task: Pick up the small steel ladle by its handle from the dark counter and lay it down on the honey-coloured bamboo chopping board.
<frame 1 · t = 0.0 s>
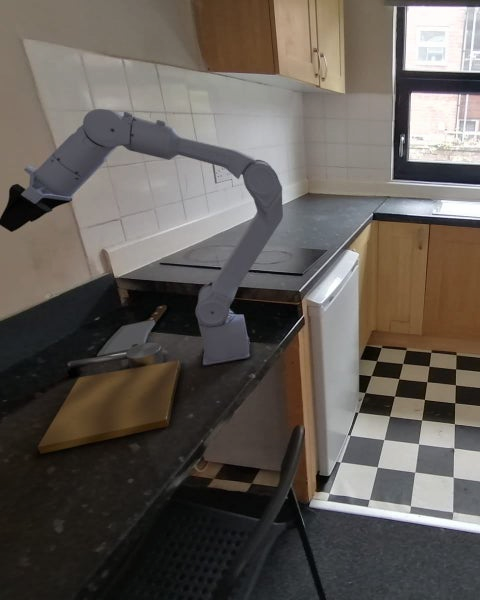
hand: (16, 222, 69), 32 cm above the counter, tool tilted 50°, fingers open, 7 cm apart
chopping board: (121, 403, 75), on the counter
kitchen cleaver: (139, 330, 101), on the counter
ladle: (147, 362, 88), on the counter
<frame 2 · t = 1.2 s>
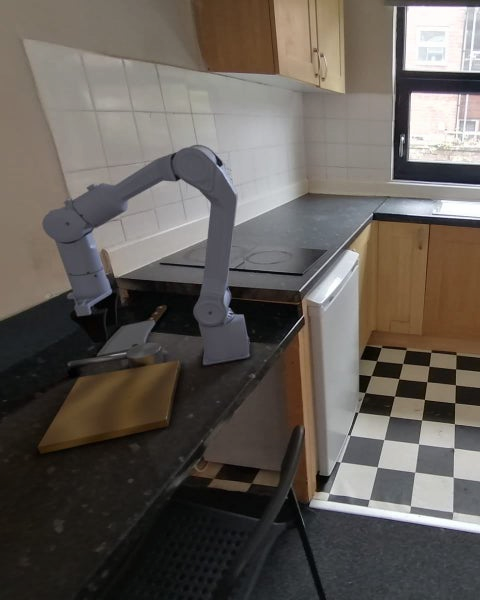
hand: (106, 333, 82), 8 cm above the counter, tool pointing down, fingers open, 7 cm apart
nothing on the counter moved.
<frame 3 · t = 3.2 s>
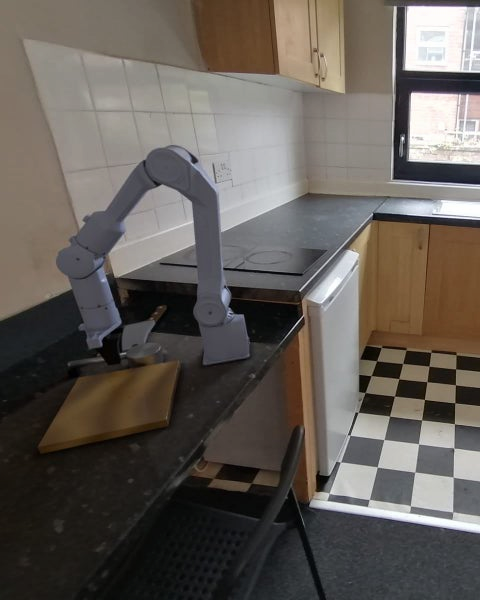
hand: (115, 361, 85), 2 cm above the counter, tool pointing down, fingers closed on ladle
ladle: (147, 362, 88), on the counter, touching gripper
everything else where it was.
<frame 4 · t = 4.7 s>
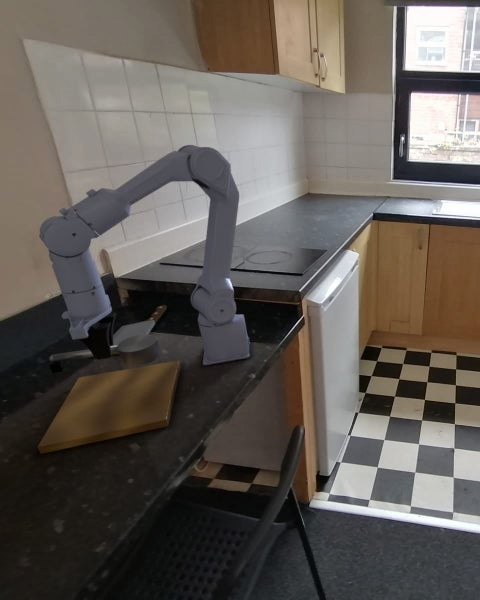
hand: (105, 355, 75), 8 cm above the counter, tool pointing down, fingers closed on ladle
ladle: (141, 357, 77), point 7 cm above the counter, touching gripper
everything else where it was.
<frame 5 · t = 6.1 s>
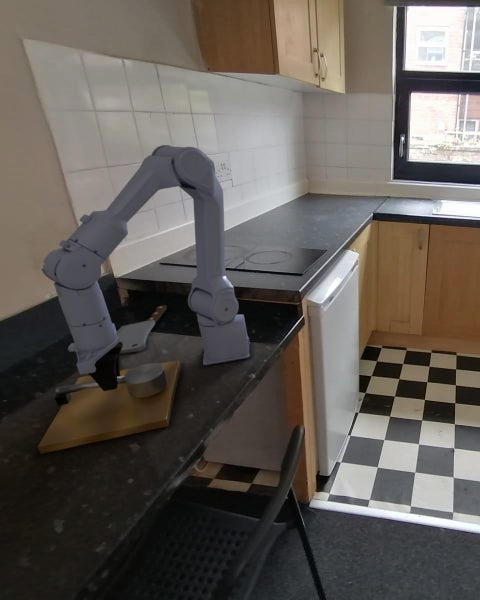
hand: (112, 385, 73), 4 cm above the counter, tool pointing down, fingers closed on ladle
ladle: (148, 386, 76), point 2 cm above the counter, touching gripper
everything else where it was.
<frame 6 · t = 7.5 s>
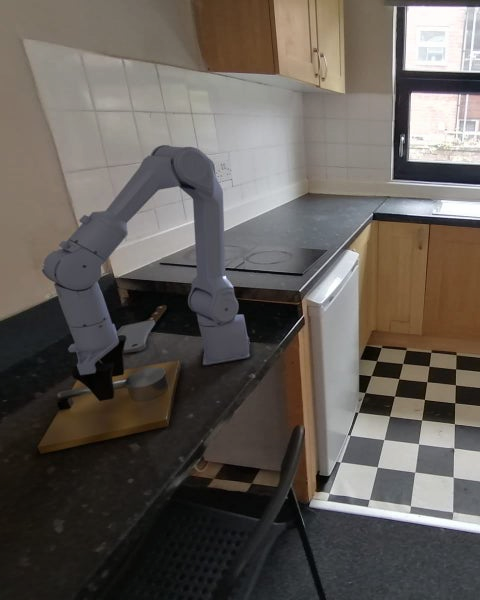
hand: (112, 386, 73), 4 cm above the counter, tool pointing down, fingers open, 7 cm apart
ladle: (149, 390, 76), point 1 cm above the counter, touching chopping board
everything else where it was.
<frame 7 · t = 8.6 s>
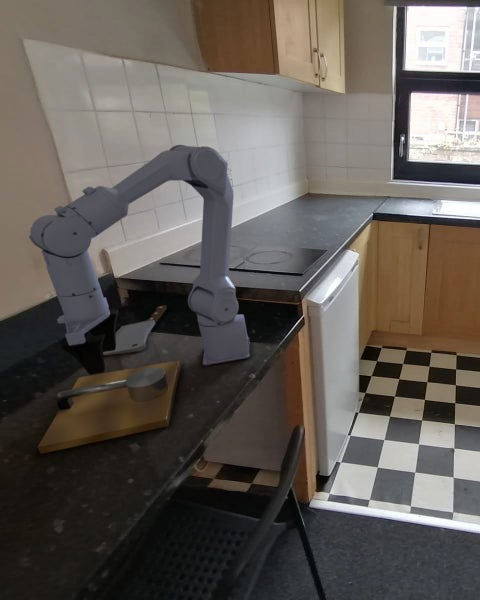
hand: (103, 361, 71), 9 cm above the counter, tool pointing down, fingers open, 7 cm apart
nothing on the counter moved.
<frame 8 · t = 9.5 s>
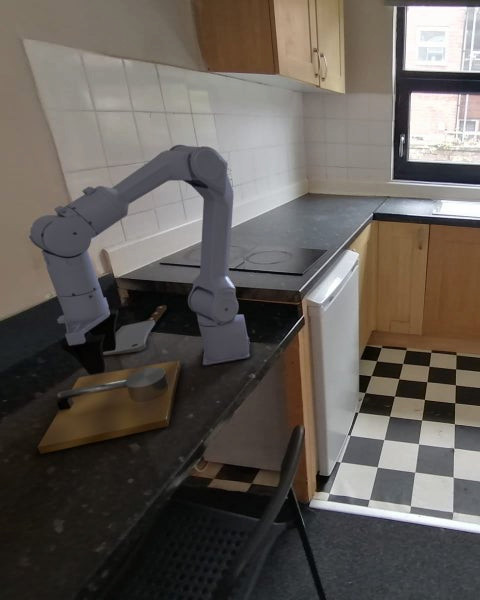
hand: (103, 361, 71), 9 cm above the counter, tool pointing down, fingers open, 7 cm apart
nothing on the counter moved.
at the end: ladle inside the target area on the chopping board (3.0 cm from its centre), point 1.5 cm above the chopping board's base; ladle touching chopping board; the gripper is holding nothing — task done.
